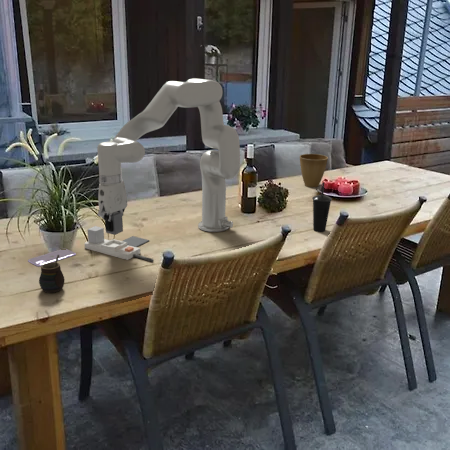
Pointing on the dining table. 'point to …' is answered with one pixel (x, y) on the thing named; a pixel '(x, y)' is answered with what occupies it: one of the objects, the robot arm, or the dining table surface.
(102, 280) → the dining table surface
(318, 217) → the drinking cup
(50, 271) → the mate gourd
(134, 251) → the power strip
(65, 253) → the mobile phone
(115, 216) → the block
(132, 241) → the mat
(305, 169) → the plant pot
